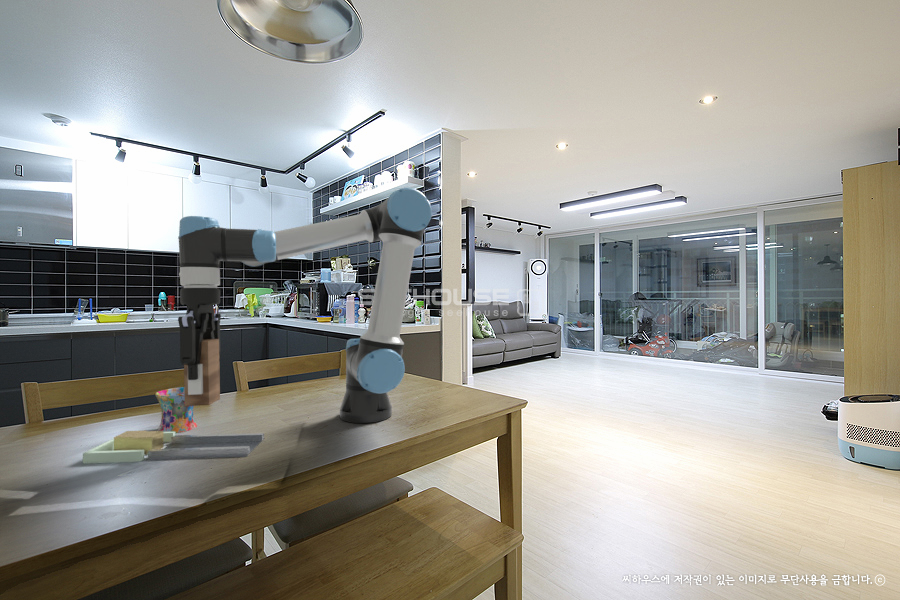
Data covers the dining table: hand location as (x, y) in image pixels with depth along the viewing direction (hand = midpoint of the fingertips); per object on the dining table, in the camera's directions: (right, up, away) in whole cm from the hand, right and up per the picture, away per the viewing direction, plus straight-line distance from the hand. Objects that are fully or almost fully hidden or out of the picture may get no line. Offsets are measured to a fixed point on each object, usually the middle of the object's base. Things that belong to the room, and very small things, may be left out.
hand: (202, 390), depth 88 cm
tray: (-14, -14, -2) cm, 20 cm away
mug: (-15, -14, +14) cm, 25 cm away
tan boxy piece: (-11, -13, -1) cm, 17 cm away
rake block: (0, -3, 0) cm, 3 cm away
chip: (-15, -13, -1) cm, 20 cm away
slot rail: (+1, -14, 0) cm, 14 cm away
